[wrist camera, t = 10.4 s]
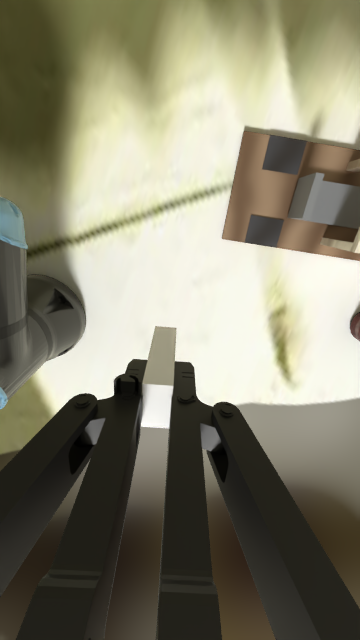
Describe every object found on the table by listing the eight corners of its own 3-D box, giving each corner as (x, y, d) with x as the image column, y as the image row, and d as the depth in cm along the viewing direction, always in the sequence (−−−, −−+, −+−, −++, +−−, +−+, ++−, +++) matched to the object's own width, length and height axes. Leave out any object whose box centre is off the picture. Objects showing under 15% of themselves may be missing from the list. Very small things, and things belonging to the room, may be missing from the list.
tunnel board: (221, 238, 40) (230, 245, 31) (243, 132, 35) (261, 104, 26) (406, 268, 41) (466, 283, 32) (456, 168, 35) (545, 153, 26)
